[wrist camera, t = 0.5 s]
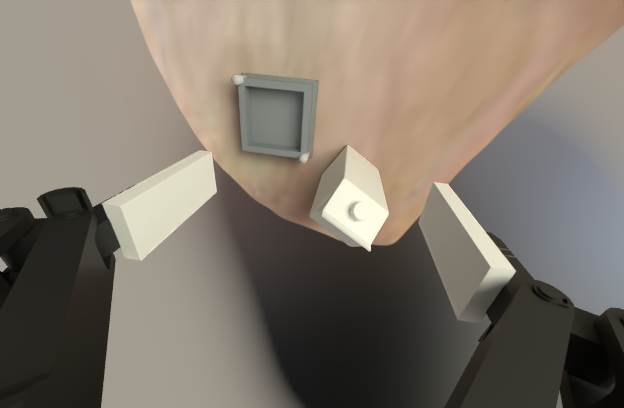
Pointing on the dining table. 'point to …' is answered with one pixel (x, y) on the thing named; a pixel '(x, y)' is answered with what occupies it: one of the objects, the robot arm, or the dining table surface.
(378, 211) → the milk carton
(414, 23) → the dining table surface
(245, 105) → the seat block
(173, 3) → the dining table surface
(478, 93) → the dining table surface
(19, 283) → the robot arm
